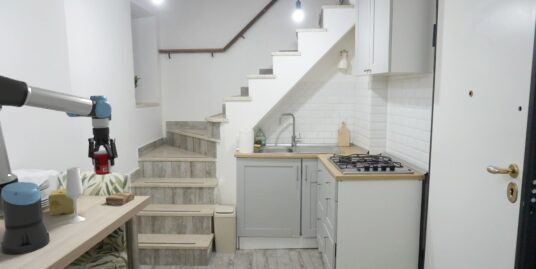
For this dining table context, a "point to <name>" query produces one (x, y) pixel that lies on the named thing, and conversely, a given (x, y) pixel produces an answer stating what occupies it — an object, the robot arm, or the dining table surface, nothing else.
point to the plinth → (120, 198)
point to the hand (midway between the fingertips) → (104, 171)
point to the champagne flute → (74, 190)
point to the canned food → (101, 162)
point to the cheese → (60, 203)
